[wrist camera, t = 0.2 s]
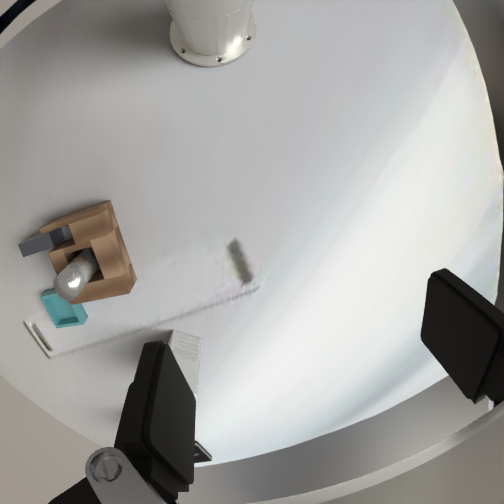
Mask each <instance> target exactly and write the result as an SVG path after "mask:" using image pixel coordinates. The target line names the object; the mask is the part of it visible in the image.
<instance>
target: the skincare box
mask: <svg viewBox="0 0 504 504" xmlns="http://www.w3.org/2000/svg"><path fill="white" fill-rule="evenodd" d="M168 345H169V346H170V348H171V350H172V352H173V354H174V356H175V359H176V361H177V363H178V365H179V367H180V369H181V371H182V373H183V375H184V377H185V379H186V380H187V382H188V384H189V386H190V388H191V390H192V392H193V394H194V396H195V399H196V397H197V391H198V376H199V367H200V355H201V345H202V339H201V338H198V337H195V336H191V335H188V334H185V333H182V332H179V331H176V330H173V332H172V334H171V336H170V339H169V342H168Z"/></svg>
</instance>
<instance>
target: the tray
mask: <svg viewBox="0 0 504 504" xmlns="http://www.w3.org/2000/svg"><path fill="white" fill-rule="evenodd" d="M41 300H42V302H43V304H44V306H45V308H46V309H47V311H48V313H49V315H50V317H51V319H52V321H53V323H54V325H55V326H56V328H61V327H68V326H75V325H82V324H84V322H85V321H86V319H87V317H88V316H87V314H86V312H85V310H84V308H83V306H82V304H81V303H78V304H73V305H71V304H70V302H69V301H67V300H64V299H62V298H61V297H60V296H59V295H58V294H57V293H56V291H55V289H51V290H47V291H45V292H44V293H43V294H42V296H41Z"/></svg>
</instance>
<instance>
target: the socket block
mask: <svg viewBox="0 0 504 504" xmlns="http://www.w3.org/2000/svg"><path fill="white" fill-rule="evenodd" d="M66 225H69V228H70V231H71V233H72V236H73V239H70V240H67V241H64V242H61V243H60V244H59V245H57V246H56V247H55V248H54V249H53V250H51V251H50V252H49V253H48V254H49V257H50V259H51V262H52V264H53V266H54V269H55V271H56V274H57V276H58V275H59V274H60V273H61V272H62V271H63V270H64V269H65V268H66V267H67V266H68V265H69V264H70V263H71V262H72V261H73V260H74V259H75V258H76V257H77V256H78V255H79V254H80V253H81V252H80V250H81V249H84V248H88V247H91V246H92V248H93V250H94V253H95V256H96V258H97V261H98V264H99V266H100V269H99V270H97V271H96V272H95V274H94V275H93V276H92V277H91V279H90V280H89V281H88V283H87V284H86V285H85V286H84V288H83V289H82V290H81V292H80V293H79V294H78V296H77V297H76V298H75V299H74V300H72V301H69V302H70V304H71V305H73V304H78V303H84V302H89V301H94V300H99V299H104V298H109V297H114V296H119V295H124V294H129V293H130V291H131V289H132V287H133V286H134V284H135V282H136V280H137V277H136V275H135V272H134V270H133V267H132V264H131V261H130V259H129V256H128V253H127V250H126V247H125V244H124V241H123V239H122V236H121V233H120V229H119V226H118V223H117V220H116V217H115V214H114V210H113V207H112V204H111V200H109V201H106V202H103V203H100V204H97V205H94V206H91V207H88V208H85V209H82V210H79V211H76V212H73V213H70V214H68V215H65V216H62V217H59V218H56V219H54V220H52V221H51V222H49V223H47V224H46V225H44V226H43V227H41V228H39V230H40V232H41V234H43V233H46V232H49V231H51V230H54V229H57V228H60V227H63V226H66Z"/></svg>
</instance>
